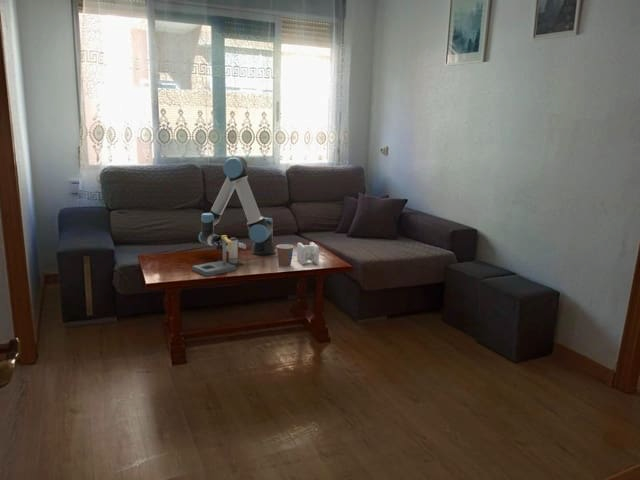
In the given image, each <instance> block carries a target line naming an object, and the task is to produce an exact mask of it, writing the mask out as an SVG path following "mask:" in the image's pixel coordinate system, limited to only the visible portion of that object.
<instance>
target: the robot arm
mask: <svg viewBox="0 0 640 480" xmlns="http://www.w3.org/2000/svg"><path fill="white" fill-rule="evenodd" d="M222 169H223V173H224V175H225V176H226V178H225V180H224V183H223V184H222V186H221V188H220V190H219V193H218V195H216V196H217V197H216V199H215V201H214V203H213V205H212V207H211V209H210V211H209V212H203V213H202V214H201V218H200V221H201V222H200V224H201V227H200V228H201V230H200V231H201V232H199V234H198V240H199V242H200V243H201V244H204V245H208V246H211V247H213V248H215V250H220V252H221V251H222V252H223V240H222V239H221V236H222V235H219V234H216V233H215V232H214V231H215V228H214V227H215V225H217V224H218V223H220V221H221V217H222V216H223V213H224V211H225V209H226V208H227V205H228V203H229V200H230V199H231V197H232V195H233V193H234V191H235V190H236V193H237V196H238V198H239V202H240V203H241V207H242V208H243V209H242V210H243V211H244V214H245V217H246V219H247V222H246V226H247V229H248V236H249V239H250V240H251V241H252V242H253V244H252V247H251V254H253V255H259V256H268V255H274V254H275V253H276V249H275V248H276V247H275V244H274V241H273V234H274V233H273V230H274V228H273V227H274V222H273V218H272V217H265V216H263V215H262V214H261V212H260V210H259V207H258V204H257V202H256V199H255V197H254V195H253V194H254V193H253V191H252V189H251V187H250V184H249V181H248V177H249V173H248V171H247V169H248V163H247V161H246V160H245V158H243V157H241V156H233V157H230V158H227V159H226V161H224V163H223V166H222ZM238 248H240V249H244V250H245V249H246V248H247V245H246V243H243V241H241V240H238ZM226 252H228V253H229V252H230V248H228V243H227V242H226Z"/></svg>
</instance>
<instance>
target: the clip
mask: <svg viewBox="0 0 640 480" xmlns="http://www.w3.org/2000/svg"><path fill="white" fill-rule="evenodd" d="M220 236H221V239H222V240H225V241H226V242H227V243H228V248H231V241H230V238H228V235H227V234H223V235H220Z"/></svg>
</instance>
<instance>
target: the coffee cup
mask: <svg viewBox="0 0 640 480" xmlns="http://www.w3.org/2000/svg"><path fill="white" fill-rule="evenodd" d="M294 247H295V246H294V245H293V244H290V243H289V244H287V243H283V244H282V243H280V244H277V245H276V247H275V248H276V253H277V262H278V263H277V264H278V266H279V267H281V268H289V267H291V265H292V260H293V251H294Z"/></svg>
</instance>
